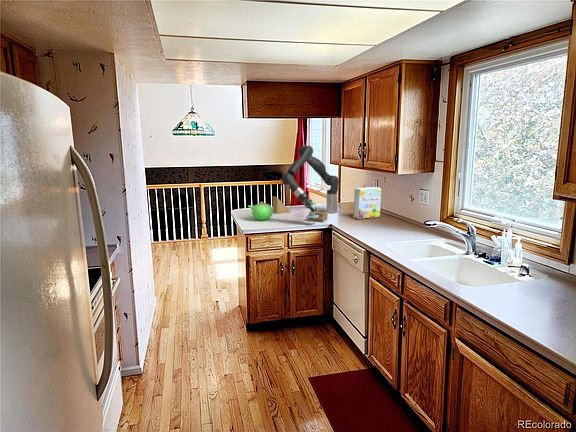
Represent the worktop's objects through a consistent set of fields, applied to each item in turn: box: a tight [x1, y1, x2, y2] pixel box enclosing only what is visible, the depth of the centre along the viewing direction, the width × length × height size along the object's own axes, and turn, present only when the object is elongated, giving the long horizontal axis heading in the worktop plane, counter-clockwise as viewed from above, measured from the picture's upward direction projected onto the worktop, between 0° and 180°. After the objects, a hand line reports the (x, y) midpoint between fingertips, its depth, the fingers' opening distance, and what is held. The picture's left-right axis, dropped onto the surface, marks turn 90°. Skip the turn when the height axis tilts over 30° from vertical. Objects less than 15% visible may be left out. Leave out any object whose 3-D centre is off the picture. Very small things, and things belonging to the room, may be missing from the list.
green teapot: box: [247, 201, 274, 221], centre depth 327 cm, size 18×17×15 cm
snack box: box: [352, 186, 383, 220], centre depth 331 cm, size 22×9×26 cm, turn 112°
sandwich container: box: [272, 196, 292, 215], centre depth 358 cm, size 9×15×15 cm, turn 121°
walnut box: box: [308, 209, 329, 223], centre depth 325 cm, size 12×12×7 cm
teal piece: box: [305, 201, 319, 219], centre depth 308 cm, size 8×8×12 cm
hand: (314, 210), depth 307 cm, fingers closed on teal piece, 3 cm apart
